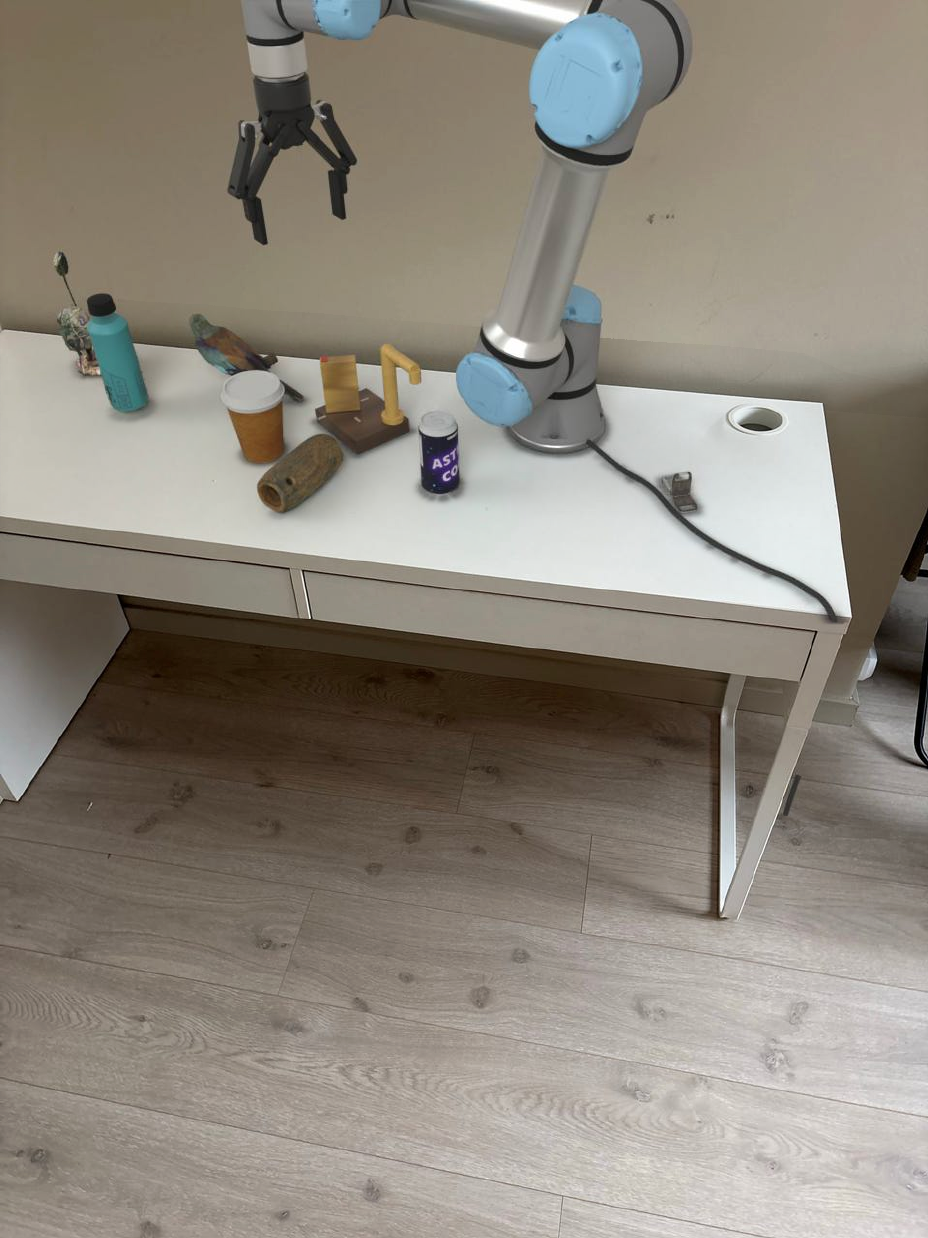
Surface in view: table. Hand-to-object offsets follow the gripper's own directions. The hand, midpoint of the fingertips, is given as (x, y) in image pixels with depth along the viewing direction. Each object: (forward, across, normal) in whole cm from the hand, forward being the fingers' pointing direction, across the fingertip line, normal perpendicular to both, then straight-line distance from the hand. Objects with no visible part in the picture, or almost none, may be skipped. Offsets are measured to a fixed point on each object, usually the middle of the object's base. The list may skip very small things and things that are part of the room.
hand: (301, 228), depth 152 cm
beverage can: (+29, 0, +33) cm, 44 cm away
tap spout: (+26, -3, +20) cm, 33 cm away
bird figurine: (+29, +8, -10) cm, 32 cm away
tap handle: (+26, +2, +9) cm, 28 cm away
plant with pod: (+29, +26, -34) cm, 52 cm away
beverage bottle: (+29, +27, -17) cm, 43 cm away
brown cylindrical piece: (+29, +16, +20) cm, 39 cm away
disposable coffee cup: (+29, +16, +8) cm, 34 cm away
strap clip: (+29, -26, +57) cm, 69 cm away
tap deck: (+29, +1, +11) cm, 31 cm away
